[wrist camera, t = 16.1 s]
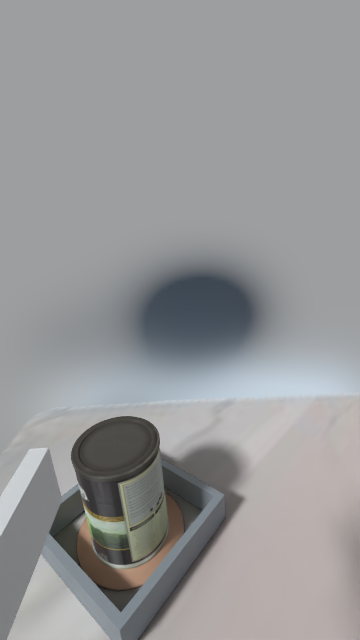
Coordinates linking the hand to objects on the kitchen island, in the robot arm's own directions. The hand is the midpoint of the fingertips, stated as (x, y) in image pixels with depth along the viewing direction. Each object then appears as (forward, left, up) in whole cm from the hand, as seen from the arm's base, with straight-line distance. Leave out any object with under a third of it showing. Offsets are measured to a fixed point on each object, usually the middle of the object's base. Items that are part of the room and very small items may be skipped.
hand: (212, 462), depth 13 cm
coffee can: (-9, -21, -30) cm, 38 cm away
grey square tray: (-9, -21, -30) cm, 38 cm away
